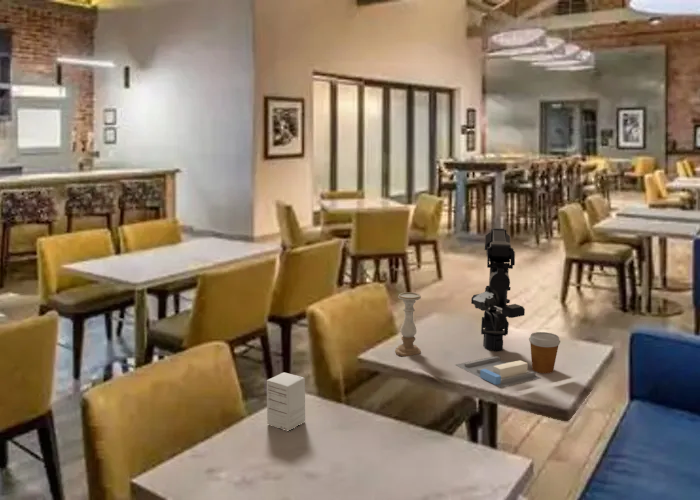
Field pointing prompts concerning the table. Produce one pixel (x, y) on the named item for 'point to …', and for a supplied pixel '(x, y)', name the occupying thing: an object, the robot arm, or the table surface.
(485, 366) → the duct tray
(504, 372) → the cream rectangular block
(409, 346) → the candle holder
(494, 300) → the robot arm
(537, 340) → the disposable coffee cup
